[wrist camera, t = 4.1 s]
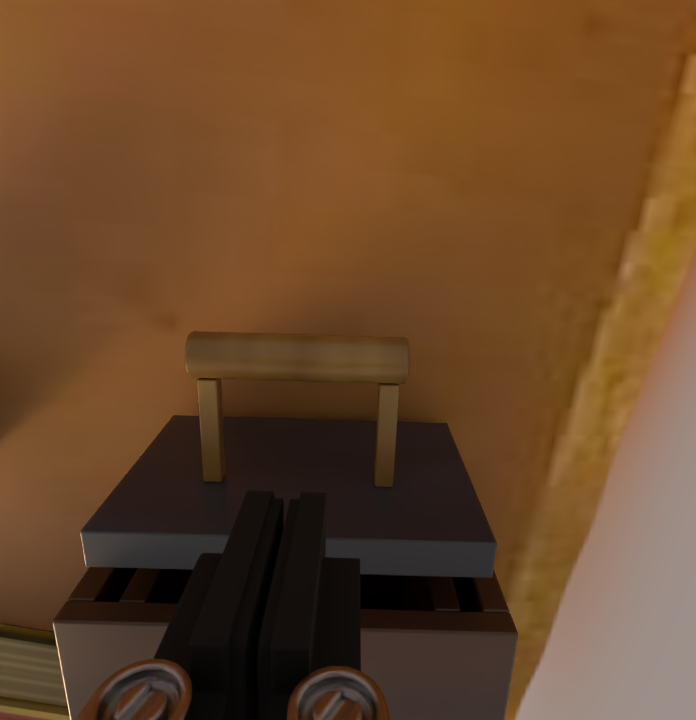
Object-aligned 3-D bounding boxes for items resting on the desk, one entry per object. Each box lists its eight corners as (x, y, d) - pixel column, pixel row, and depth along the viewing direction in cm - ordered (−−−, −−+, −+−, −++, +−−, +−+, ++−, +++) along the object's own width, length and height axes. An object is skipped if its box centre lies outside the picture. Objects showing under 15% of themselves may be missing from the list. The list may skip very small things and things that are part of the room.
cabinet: (170, 451, 23) (50, 621, 14) (452, 459, 23) (519, 634, 14) (194, 739, 28) (120, 998, 19) (423, 745, 28) (458, 1006, 19)
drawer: (163, 298, 20) (52, 359, 13) (458, 307, 20) (521, 373, 13) (197, 710, 26) (137, 911, 19) (419, 716, 27) (445, 919, 19)
